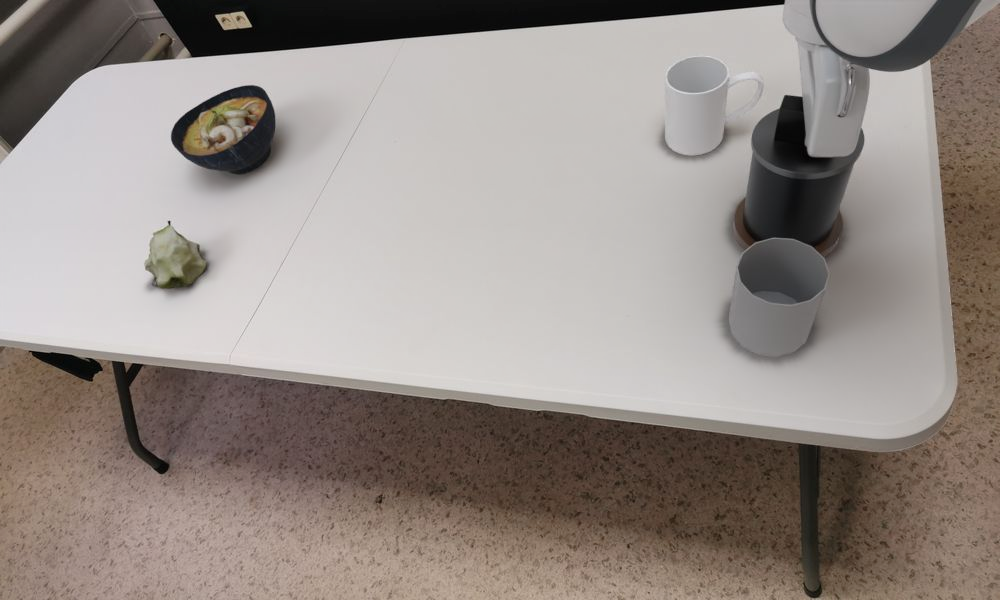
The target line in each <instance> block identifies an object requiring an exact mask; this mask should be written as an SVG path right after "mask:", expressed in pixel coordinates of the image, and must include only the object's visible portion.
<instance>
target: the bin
mask: <svg viewBox="0 0 1000 600" xmlns="http://www.w3.org/2000/svg"><path fill="white" fill-rule="evenodd" d="M804 133H805V119H804V108H803V97H802V96H799V95H790V94H784V95H783V98H782V100H781V104H780V106H779V108H777V109H774V110H772V111H770V112H769V113H767V114H766V115H764V116H763V117H761V118H760V120H759V121H758V122H757V123H756V125H754V128H753V129H752V133H751V140H750V147H751V151H752V153H751V161H750V167H749V173H748V181H747V187H746V194H745V197H746V200H745V206H744V213H743V223H744V227H745V229H746V231H747V232H748V234H749V235H750V236H751V237H752V238H753V239H754V240H755V241H757V242H759V241H763V240H767V239H770V238H787V239H795V240H797V241H800V242H802V243H805V244H807V245H810V246H812V247H815V246H817V245H819V244H820V243H822V242H823V241H824V240H826V239H827V237H828V236H829V235H830V233H831V232H832V229H833V226H834V223H835V220H836V217H837V214H838V211H840V208H841V205H842V201H843V199H844V196H845V192H846V190H847V187H848V184H849V180H850V177H851V175H852V172H853V168H854V166H855V163H856V162H857V161H858V159H859V158H860V156H861V155H862V152H863V149H864V146H865V141H866V140H865V139H866V138H865V133H864V130H863V128H862V127H861V130H860V134H859V138H858V142H857V145H856V148H855V150H854V151H853V152H852V153H851V154H850V155H848V156H844V157H811V156H810V155H809V154H808V151H807V146H805V138H804Z"/></svg>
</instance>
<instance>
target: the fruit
mask: <svg viewBox="0 0 1000 600" xmlns="http://www.w3.org/2000/svg"><path fill="white" fill-rule="evenodd" d="M167 224H168V225H166V226H165V227H163V228H162V229H159V230H157V231H154V232H152V236H153V237H152V238H150V241H149V254H148V259H147V258H146V260H145V261H144V263H143V264H144V269H145V271H148V272H149V273H150V274H152V276H153V277H154V278H153V280H152V281H151V285H152V286H154V287H156V286H157V287H159V288H160V289H162V290H173V289H178V288H182V287H187V286H190V285H191V284H194V283H195V282H196V281H197V280H198V279H199V278H200V277H201V276H202V274H204V272H205V269H206V266H207V261H206V260H204V259H202V257H201V255H200V252H201V249H200V248H201V247H200V246H201V245H200V243H196V242H193V241H191V240H189V239H187V238H186V237H185V236H184V235H183V234H181V233H179V232H178V231H177V230H176V229H175V228H174V226H173V225H171V220H167Z"/></svg>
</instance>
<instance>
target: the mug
mask: <svg viewBox="0 0 1000 600" xmlns="http://www.w3.org/2000/svg"><path fill="white" fill-rule="evenodd" d="M750 80H752V81H755V82H757V89H756V92H755V94H754V96H753V97H752V98H751V99H750V100H749V101H748V102H747V103H746V104H744V105H743V106H742V107H740V108H738V109H737V110H735V111H733V112H731V113H729V114H727V115H726V111H727V101H728V92H729V91H728V90H729V89H730V88H731V87H733V86H735V85H737V84H739V83H741V82H745V81H750ZM763 93H764V79H763V77H762V75H761V74H759V73H758V72H756V71H745V72H742V73H739V74H737V75H734V76H732V77H730V69H729V66H728V65H727V64H726V63H725V62H724V61H723V60H722V59H719V58H717V57H714V56H709V55H693V56H692V55H691V56H687V57H685V58H682V59H679V60H678V61H676V62H674V63H673V64H671V65H670V66H669V67H668V68H667V70H666V72H665V76H664V138H665V143H666V144H667V146H668V148H669V149H670V150H672V151H673V152H674V153H677V154H678V155H679V154H680V155H683V156H689V157H690V156H691V157H695V156H702V155H705V154H708V153H710V152H712V151H714V150H715V149H717V148H718V146H720V144H721V143H722V141H723V139H724V133H725V125H727V124H728V123H732V122H733V121H735V120H736V119H739V118H740V117H742V116H744V115H745V114H747V113H748V112H749V111H751V110H752V109H753V108H754V107H755V106H756V105H757V104H758V102H759V100H760V99H761V97H762V95H763Z"/></svg>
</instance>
